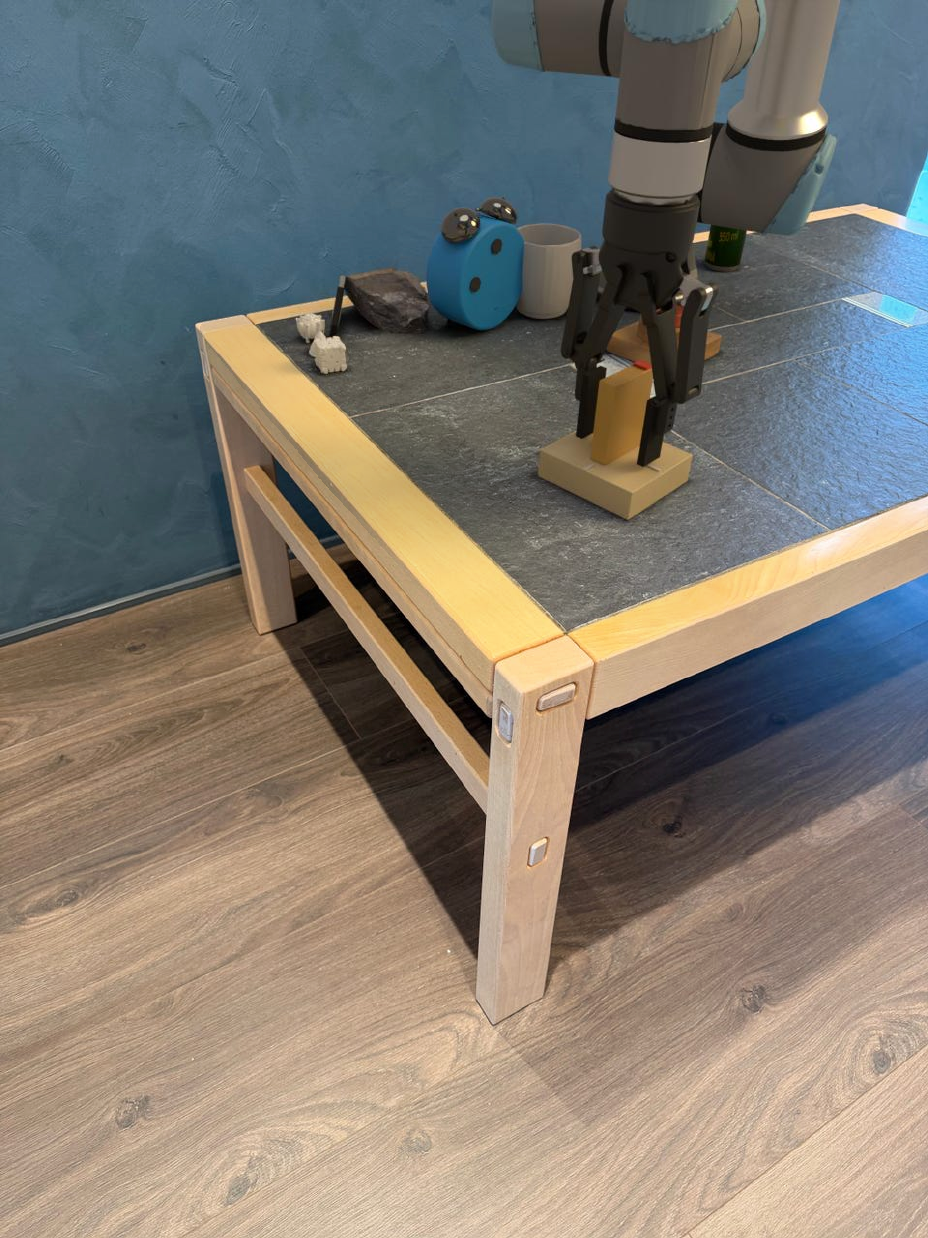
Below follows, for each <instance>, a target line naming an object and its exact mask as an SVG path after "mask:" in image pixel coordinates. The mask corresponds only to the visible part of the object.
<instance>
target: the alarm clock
mask: <svg viewBox="0 0 928 1238" xmlns="http://www.w3.org/2000/svg"><path fill="white" fill-rule="evenodd" d="M477 212H479V213H477ZM480 213H483V214H480ZM517 221H518V212H517V210H516V208H515V206H514V205H513V204H512V203H511V202H510V201H508V200H506V197H505V196H502V198H501V197H493V196H492V197H489V198H487V199H485V200H484V201H482V203H481V204H480V206H479V207H475V209H472V208H469V207H467V206H465V207H464V206H463V207H461V206H460V207H456V208H453V209H451V210H449V212H447V214H446V215H445V216H444V217H443V220H442V221H441V224H440V232H439V234H438V235H437V237H436V238H435V241H434V243H433V245H432V247H431V250H430V253H429V256H428V261H427V265H426V274H425V282H426V292H427V295H428V298H429V302H430V303H431V305H432V307H433V309H434V310H435V311H436V312H437V313H438V314H439V315H440V316H441V317H443V318H445V319H447V320H446V327H447V328H450V325H451V324H452V322H455V323H457V324H460V325H463V326H466V327H468V328H471V329H473V330H476V331H488V330H492V329H493V328H495V327H497V326H499V325H500V324H502V323H503V322H504V321H505V320H506V319H507V318H508V317H509V316H510V314H511V313H512V312H513V311H514V309H515V307H516V304H517V302H518V300H519V298H520V295H521V293H522V289H523V281H522V269H523V251H524V242H525V241H524V239H523V237H522V235H521V233H520V232H519V230H518V229H517V228H518V227H516V226H515V225H517Z"/></svg>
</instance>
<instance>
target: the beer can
mask: <svg viewBox="0 0 928 1238" xmlns="http://www.w3.org/2000/svg"><path fill="white" fill-rule="evenodd" d="M747 233H748V231H746V230H740V229H734V228H728V227H722V226H716V225H710V228H709V231H708V238H707V243H706V249H705V254H704V261H703V262H704V264H705V266H706V268H708V269H709V270H712V271H715V272H725V273H726V272H727V273H728V272H733V271H736V270H737V269H739V267H740V265H741V262H742V257H743V251H744V248H745V243H746V238H747Z"/></svg>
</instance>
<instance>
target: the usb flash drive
mask: <svg viewBox="0 0 928 1238" xmlns="http://www.w3.org/2000/svg"><path fill="white" fill-rule="evenodd" d="M345 278H346V276H345V275H342V274H341V275H340V279H339V284H338V286H337V288H336V294H335V297H334V304H333V310H332V314H331V320H330V326H329V327H330V329H329V338H330V337H331V338H332V337H333V336H337V335H338V331H339V327H340V321H341V316H342V310H343V309H342V308H343V302H344V295H345V288H344V284H345ZM337 337H338V336H337Z"/></svg>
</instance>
